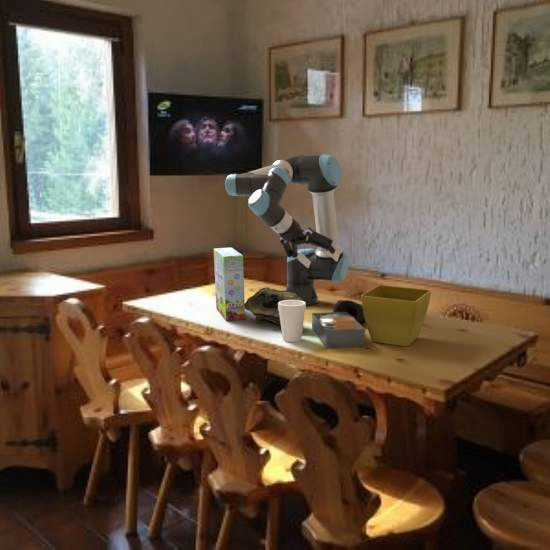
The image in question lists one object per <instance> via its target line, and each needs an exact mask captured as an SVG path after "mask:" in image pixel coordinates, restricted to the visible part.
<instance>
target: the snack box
mask: <svg viewBox="0 0 550 550" xmlns="http://www.w3.org/2000/svg"><path fill="white" fill-rule="evenodd" d="M213 263H214V265H213V266H214V279H215V280H214V284H215V285H214V286H215V287H214V288H215V305H216V306H215V307H216V310H217V311H218V312H219V313H220V315H221V316H222V318H223V319H224V321H225V322H229V321H241V320H244V321H245V320H246V312H245V311H246V309H245V308H244V306H245V303H246V301H245V277H244V276H245V274H244V273H245V272H244V269H245V268H244V255H243V254H241V252H238V250H236V249H234V248H233V247H219V248H217V247H216V248H213Z"/></svg>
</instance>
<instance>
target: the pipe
mask: <svg viewBox="0 0 550 550" xmlns="http://www.w3.org/2000/svg"><path fill="white" fill-rule="evenodd" d="M333 312H348V313H349V314H350V315H351V316H352V317H354V318H355V320H356V321H357V322H358V323H359V324H360V323H362V322H366V321H365V317H364V312H363V306H362V303H358V302H356V301H353V300H349V299H345V300H344V299H340V300H339V299H338V300H337V301H336V302H335V303H334V306H333Z"/></svg>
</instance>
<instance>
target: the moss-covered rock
mask: <svg viewBox="0 0 550 550" xmlns="http://www.w3.org/2000/svg"><path fill="white" fill-rule="evenodd" d="M285 290H286V289H285ZM285 290H278V289H275V288H270V287H269V286H268V287H267V286H266V287H262V288H260V289H259V290H258V291H257V292H255V293H254V294H253V295H252V296H249V298H247V299H246V301H245V306H244V308H245V311H248V312H250V313H251V314H252V315H254V316H255V320H256V321H261V320H267V321H271V322H273V323H275V324H276V325H279V326H281V322H280V315H279V310H278V302H280V301H284V300H300V301H302V298H301V297H300V296H297V295H296V293H295V292H291V291H287V290H286V291H285Z"/></svg>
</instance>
